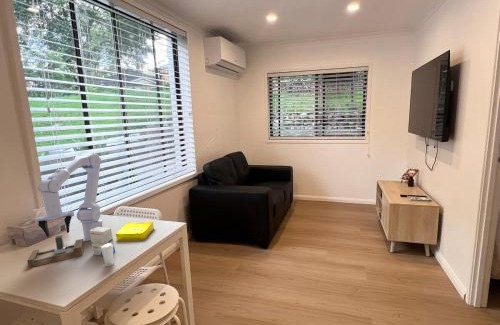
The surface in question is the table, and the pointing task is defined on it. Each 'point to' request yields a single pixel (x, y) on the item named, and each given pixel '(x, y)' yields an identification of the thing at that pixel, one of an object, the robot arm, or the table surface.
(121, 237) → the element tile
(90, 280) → the table surface
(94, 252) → the ink box
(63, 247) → the sliding jaw
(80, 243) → the base
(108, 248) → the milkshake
